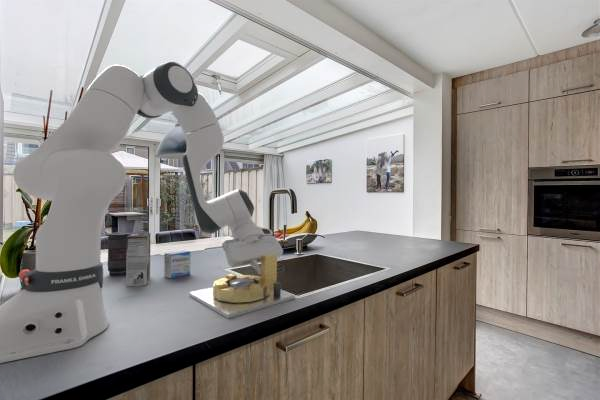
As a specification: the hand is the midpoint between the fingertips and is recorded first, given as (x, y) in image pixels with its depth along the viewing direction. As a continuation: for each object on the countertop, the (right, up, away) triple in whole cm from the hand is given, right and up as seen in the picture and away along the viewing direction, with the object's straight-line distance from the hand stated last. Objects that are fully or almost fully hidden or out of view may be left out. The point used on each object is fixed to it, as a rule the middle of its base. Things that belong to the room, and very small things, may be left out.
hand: (265, 272), depth 97 cm
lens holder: (-5, -4, -7) cm, 10 cm away
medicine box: (-34, -5, +15) cm, 37 cm away
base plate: (-6, -5, -7) cm, 11 cm away
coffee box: (-43, -5, +6) cm, 44 cm away
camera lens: (-55, -4, +15) cm, 57 cm away
